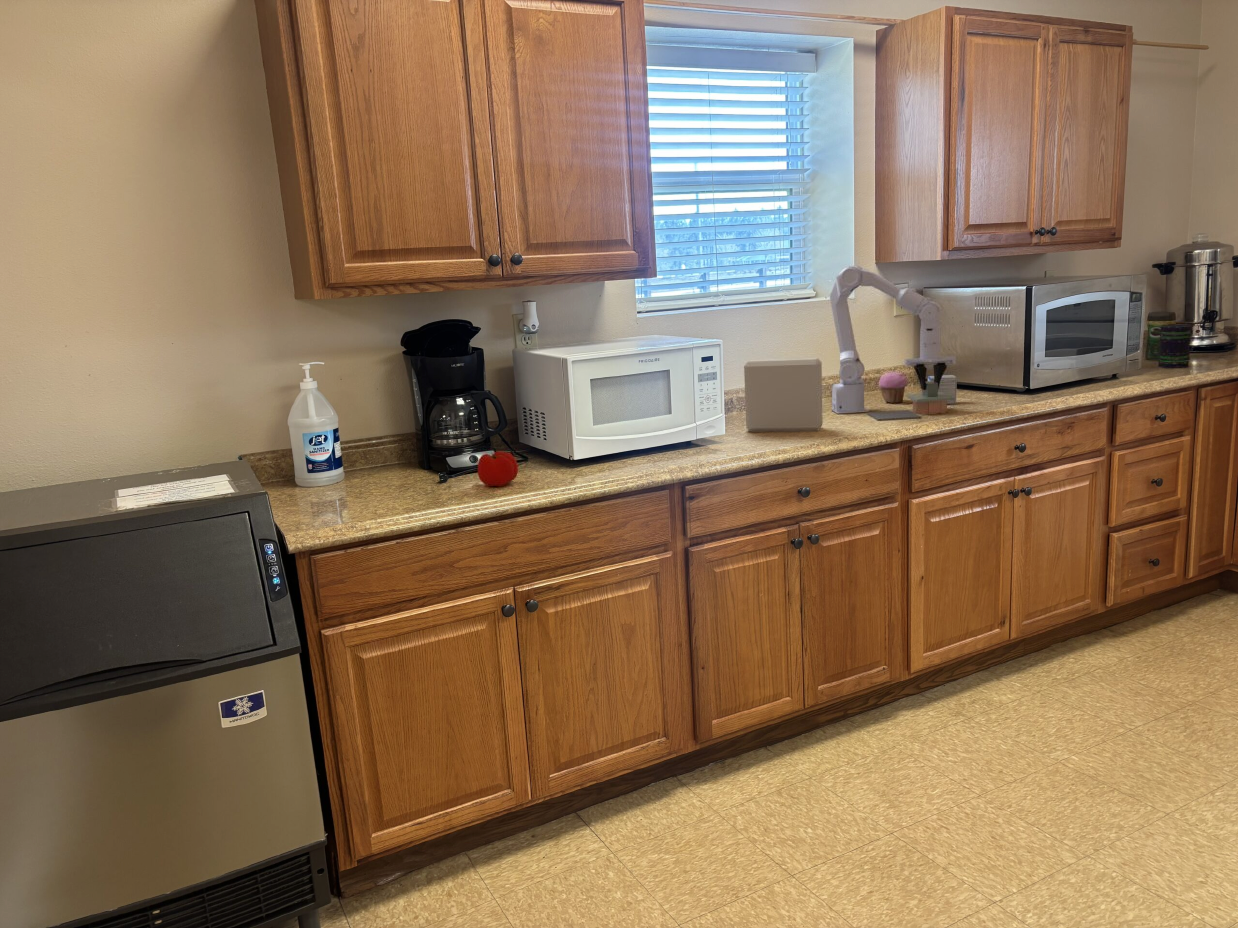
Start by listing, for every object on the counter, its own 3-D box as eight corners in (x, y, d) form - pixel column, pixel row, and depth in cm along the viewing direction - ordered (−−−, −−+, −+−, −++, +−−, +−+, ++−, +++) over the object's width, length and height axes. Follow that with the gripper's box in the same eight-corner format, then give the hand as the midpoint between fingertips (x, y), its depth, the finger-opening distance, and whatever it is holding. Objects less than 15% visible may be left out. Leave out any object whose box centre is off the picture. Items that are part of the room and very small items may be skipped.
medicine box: (952, 402, 284) (953, 374, 282) (956, 404, 280) (957, 376, 278) (927, 403, 285) (927, 376, 283) (930, 405, 281) (930, 377, 279)
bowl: (919, 414, 266) (919, 401, 265) (910, 410, 274) (910, 397, 274) (949, 412, 265) (950, 399, 265) (939, 408, 274) (939, 395, 273)
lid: (917, 402, 264) (917, 385, 263) (905, 397, 275) (905, 381, 274) (954, 399, 263) (955, 383, 262) (942, 394, 274) (942, 379, 273)
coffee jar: (1177, 358, 349) (1180, 310, 346) (1167, 361, 345) (1170, 312, 341) (1151, 357, 357) (1153, 310, 353) (1141, 360, 353) (1143, 312, 349)
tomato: (479, 490, 206) (476, 459, 205) (479, 482, 215) (476, 451, 213) (520, 486, 208) (517, 455, 206) (518, 478, 216) (515, 448, 215)
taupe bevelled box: (823, 426, 257) (822, 356, 253) (821, 431, 250) (819, 359, 245) (749, 427, 263) (747, 359, 259) (745, 432, 256) (743, 362, 252)
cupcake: (913, 402, 288) (913, 371, 286) (892, 405, 285) (892, 374, 283) (893, 399, 296) (893, 369, 294) (872, 402, 293) (872, 372, 291)
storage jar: (1163, 364, 336) (1166, 324, 333) (1193, 365, 328) (1196, 324, 325) (1153, 367, 330) (1155, 326, 326) (1182, 369, 322) (1185, 327, 319)
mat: (877, 420, 260) (877, 419, 260) (866, 414, 273) (866, 412, 272) (921, 418, 260) (920, 416, 260) (908, 411, 272) (908, 410, 272)
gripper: (909, 346, 262) (909, 392, 265) (959, 342, 262) (959, 389, 264) (902, 344, 269) (902, 389, 272) (951, 341, 268) (950, 386, 271)
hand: (929, 389), depth 269 cm, fingers open, 3 cm apart
